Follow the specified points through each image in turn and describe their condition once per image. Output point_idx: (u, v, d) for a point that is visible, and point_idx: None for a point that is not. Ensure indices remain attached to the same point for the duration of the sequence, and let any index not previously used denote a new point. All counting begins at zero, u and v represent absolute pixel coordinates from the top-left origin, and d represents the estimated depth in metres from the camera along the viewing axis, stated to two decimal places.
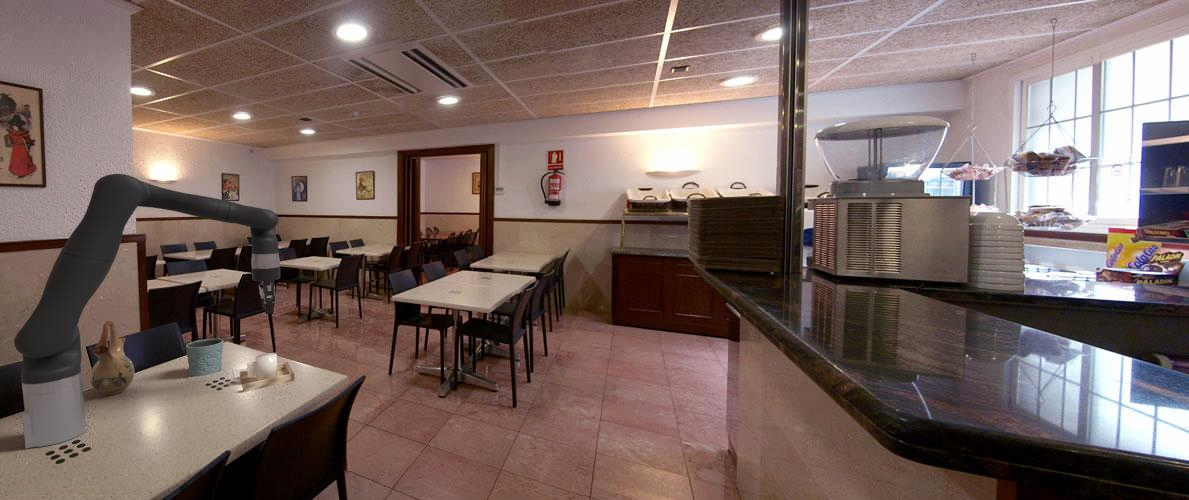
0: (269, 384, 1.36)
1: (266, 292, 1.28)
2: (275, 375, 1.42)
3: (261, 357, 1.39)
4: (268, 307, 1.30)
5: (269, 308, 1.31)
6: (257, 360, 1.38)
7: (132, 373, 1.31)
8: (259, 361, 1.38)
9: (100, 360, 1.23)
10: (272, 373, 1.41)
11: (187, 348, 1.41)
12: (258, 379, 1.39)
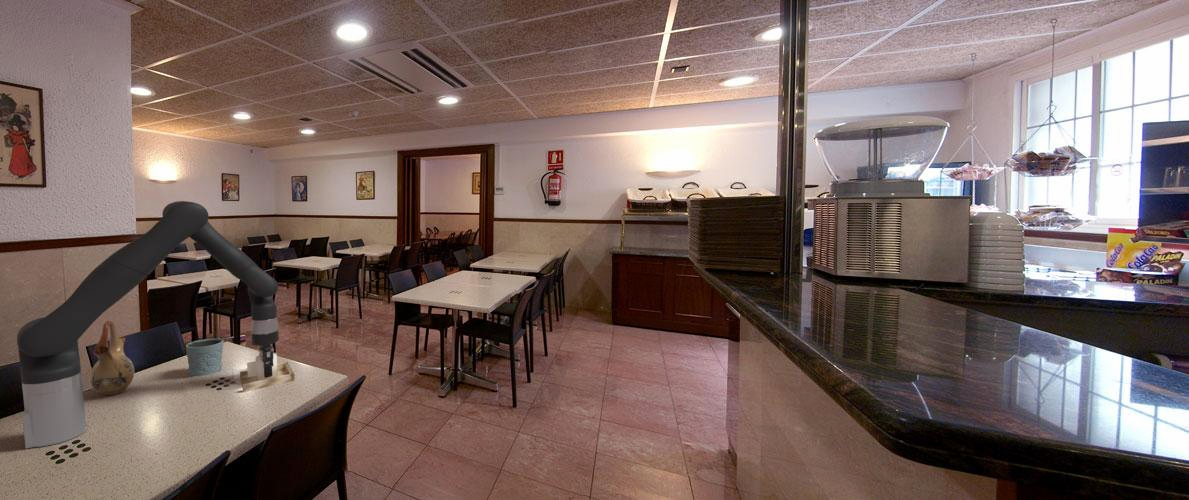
0: (269, 384, 1.36)
1: (265, 359, 1.36)
2: (275, 375, 1.42)
3: None
4: (267, 371, 1.38)
5: (268, 372, 1.38)
6: (257, 360, 1.38)
7: (132, 373, 1.31)
8: (259, 361, 1.38)
9: (100, 360, 1.23)
10: (272, 373, 1.41)
11: (187, 348, 1.41)
12: (258, 379, 1.39)
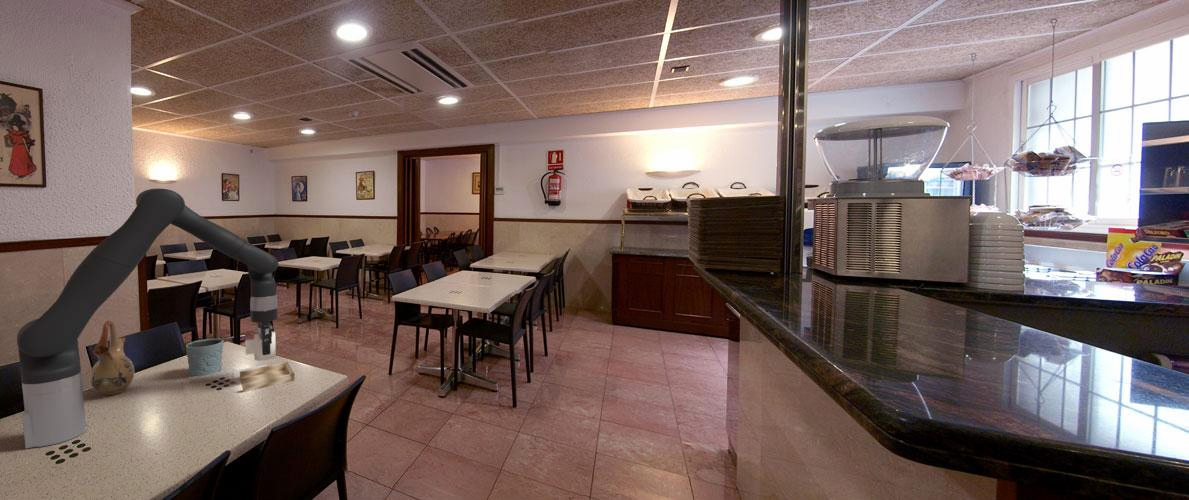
0: (269, 384, 1.36)
1: (264, 335, 1.35)
2: (273, 353, 1.41)
3: None
4: (265, 348, 1.37)
5: (266, 349, 1.37)
6: (255, 337, 1.37)
7: (132, 373, 1.31)
8: (257, 338, 1.37)
9: (100, 360, 1.23)
10: None
11: (187, 348, 1.41)
12: (256, 357, 1.38)
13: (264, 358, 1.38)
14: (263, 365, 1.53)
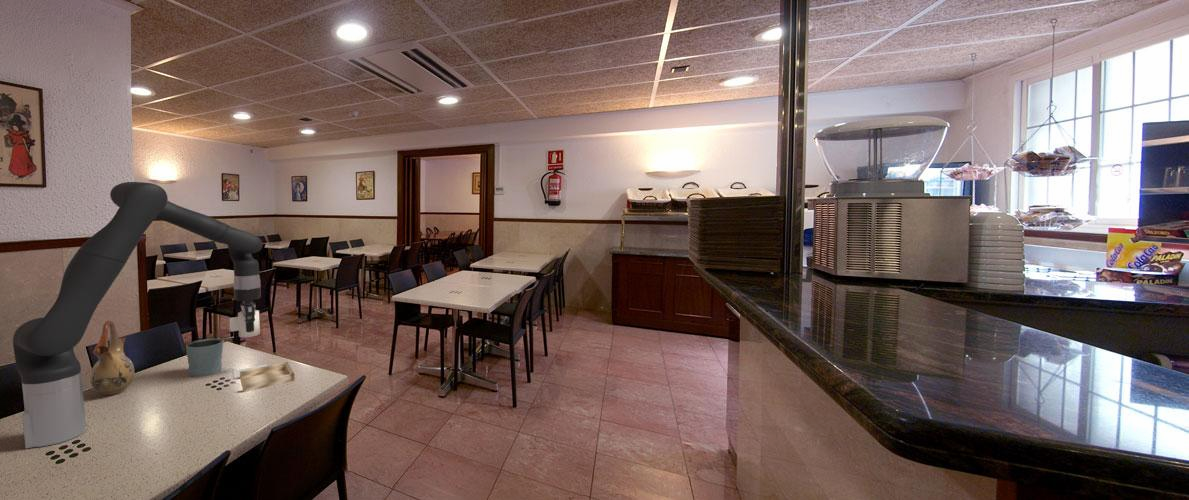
0: (269, 384, 1.36)
1: (247, 313, 1.40)
2: (257, 331, 1.46)
3: None
4: (249, 326, 1.42)
5: (249, 327, 1.42)
6: (239, 315, 1.42)
7: (132, 373, 1.31)
8: (241, 316, 1.42)
9: (100, 360, 1.23)
10: (254, 328, 1.45)
11: (187, 348, 1.41)
12: (240, 334, 1.43)
13: (248, 335, 1.43)
14: (263, 365, 1.53)
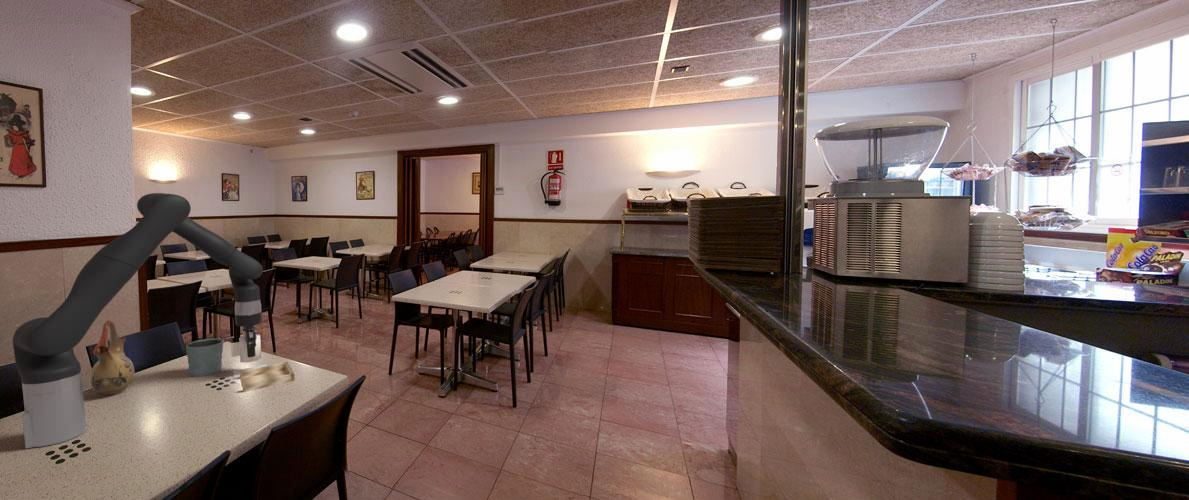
0: (269, 384, 1.36)
1: (248, 339, 1.41)
2: (258, 355, 1.47)
3: None
4: (250, 351, 1.43)
5: (251, 352, 1.44)
6: (241, 340, 1.43)
7: (132, 373, 1.31)
8: (242, 341, 1.43)
9: (100, 360, 1.23)
10: (255, 353, 1.46)
11: (187, 348, 1.41)
12: (242, 359, 1.44)
13: (249, 360, 1.44)
14: (263, 365, 1.53)
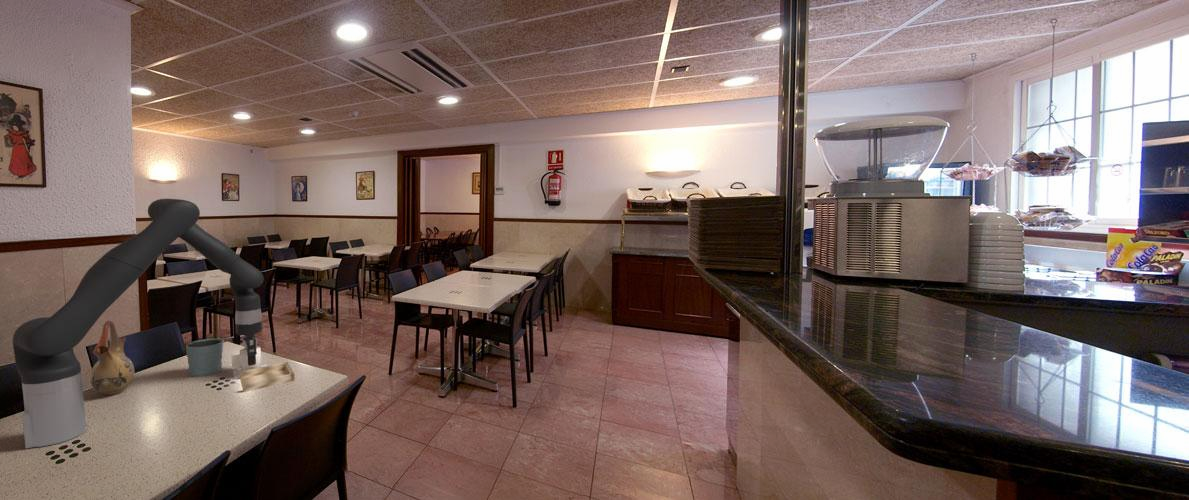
0: (269, 384, 1.36)
1: (248, 346, 1.41)
2: None
3: None
4: (250, 359, 1.43)
5: (251, 360, 1.43)
6: (241, 353, 1.44)
7: (132, 373, 1.31)
8: (243, 354, 1.43)
9: (100, 360, 1.23)
10: (256, 366, 1.46)
11: (187, 348, 1.41)
12: None
13: None
14: (263, 365, 1.53)
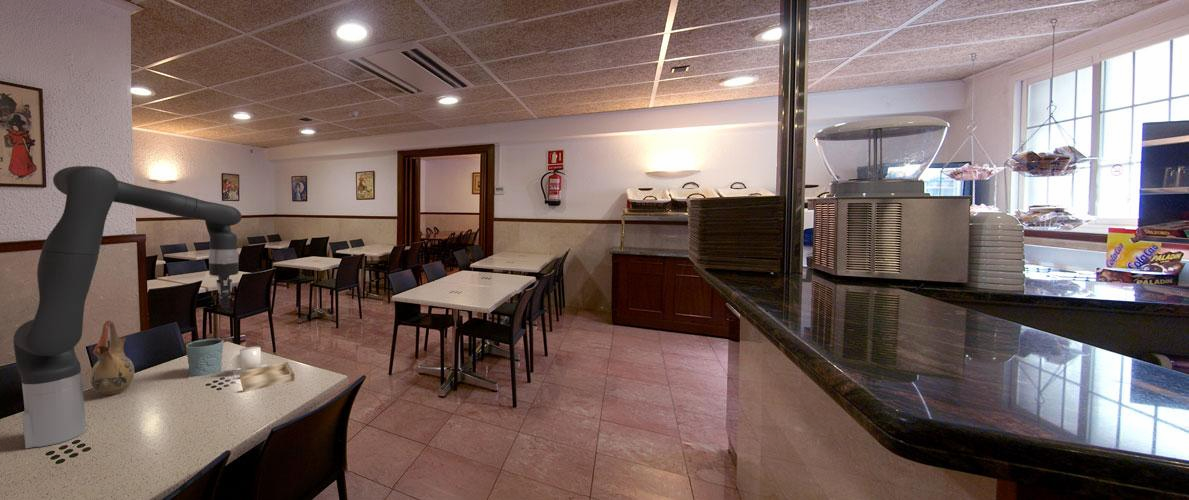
0: (269, 384, 1.36)
1: (222, 287, 1.31)
2: None
3: (245, 350, 1.45)
4: (224, 302, 1.33)
5: (225, 303, 1.33)
6: (241, 353, 1.44)
7: (132, 373, 1.31)
8: (243, 354, 1.43)
9: (100, 360, 1.23)
10: (256, 366, 1.46)
11: (187, 348, 1.41)
12: None
13: None
14: (263, 365, 1.53)
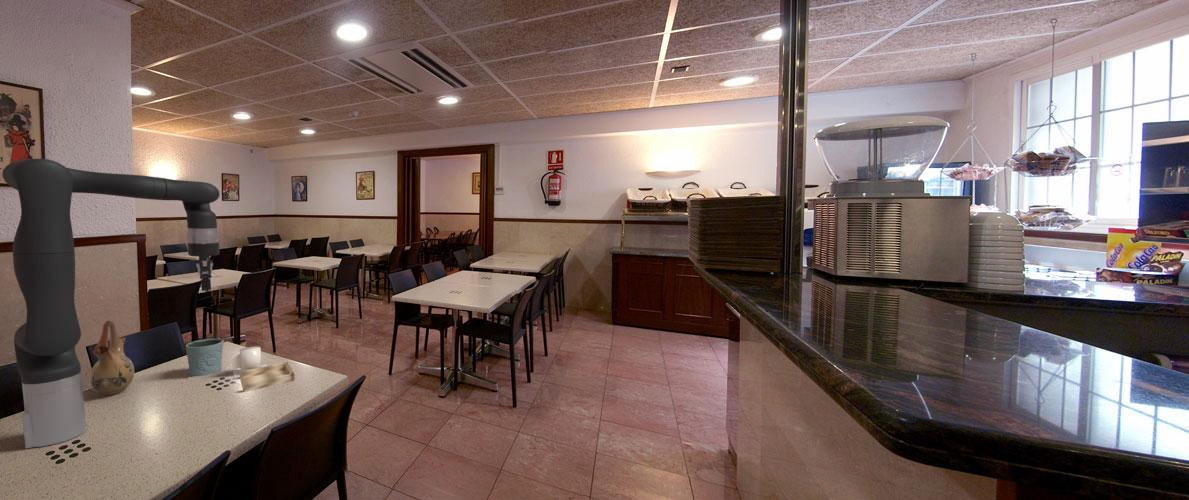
0: (269, 384, 1.36)
1: (201, 267, 1.24)
2: None
3: (245, 350, 1.45)
4: (204, 283, 1.26)
5: (205, 284, 1.27)
6: (241, 353, 1.44)
7: (132, 373, 1.31)
8: (243, 354, 1.43)
9: (100, 360, 1.23)
10: (256, 366, 1.46)
11: (187, 348, 1.41)
12: None
13: None
14: (263, 365, 1.53)
